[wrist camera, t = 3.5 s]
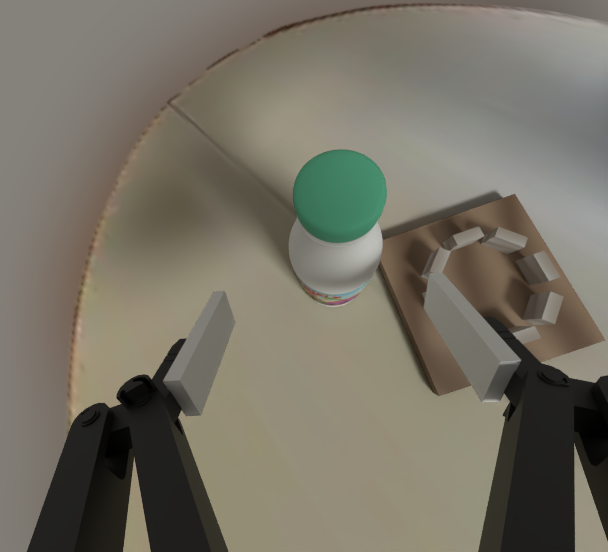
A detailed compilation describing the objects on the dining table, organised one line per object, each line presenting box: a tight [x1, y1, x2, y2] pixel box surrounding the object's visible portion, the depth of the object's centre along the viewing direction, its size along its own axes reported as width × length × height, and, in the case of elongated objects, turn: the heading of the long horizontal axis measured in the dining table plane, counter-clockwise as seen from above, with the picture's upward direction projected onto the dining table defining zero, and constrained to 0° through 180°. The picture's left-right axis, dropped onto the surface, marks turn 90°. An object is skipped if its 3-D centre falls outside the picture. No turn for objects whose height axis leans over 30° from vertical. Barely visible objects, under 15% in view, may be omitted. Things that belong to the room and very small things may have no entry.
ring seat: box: [379, 194, 605, 396], centre depth 27 cm, size 18×18×4 cm
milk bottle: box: [289, 150, 387, 307], centre depth 21 cm, size 8×8×20 cm
